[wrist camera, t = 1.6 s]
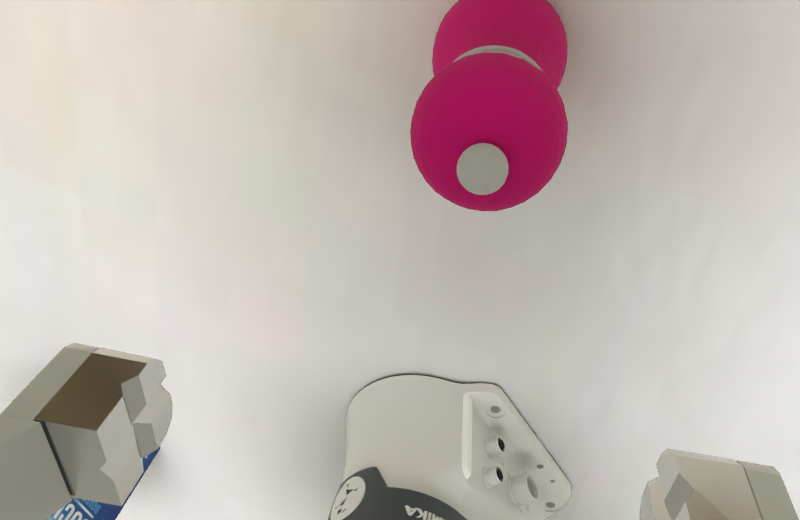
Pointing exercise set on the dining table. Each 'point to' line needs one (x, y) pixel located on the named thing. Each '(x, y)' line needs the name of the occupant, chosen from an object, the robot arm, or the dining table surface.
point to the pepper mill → (493, 104)
